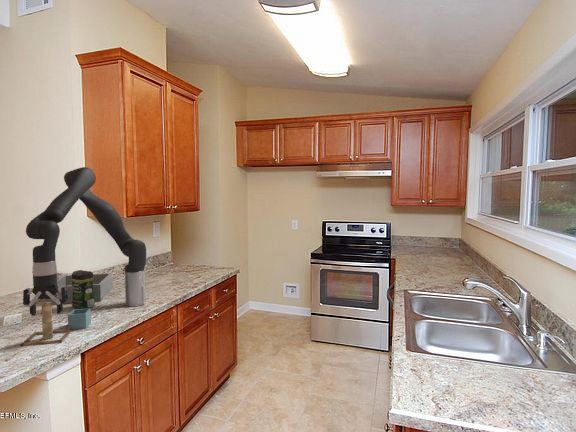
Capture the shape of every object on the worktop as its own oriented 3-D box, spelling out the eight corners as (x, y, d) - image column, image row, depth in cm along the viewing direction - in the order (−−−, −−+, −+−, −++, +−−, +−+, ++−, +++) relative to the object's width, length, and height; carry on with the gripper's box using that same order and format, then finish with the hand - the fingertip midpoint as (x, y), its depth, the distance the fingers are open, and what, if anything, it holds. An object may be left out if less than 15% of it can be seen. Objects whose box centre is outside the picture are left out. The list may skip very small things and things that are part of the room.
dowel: (54, 336, 134) (53, 301, 133) (50, 339, 131) (49, 304, 130) (44, 337, 133) (43, 302, 132) (41, 340, 130) (39, 304, 129)
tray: (71, 332, 139) (71, 329, 139) (61, 344, 128) (61, 340, 128) (35, 335, 136) (34, 332, 136) (21, 348, 125) (20, 343, 125)
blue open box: (91, 324, 148) (90, 308, 148) (86, 330, 142) (85, 313, 141) (74, 325, 147) (73, 309, 146) (68, 331, 140) (67, 315, 140)
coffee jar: (69, 308, 168) (67, 271, 167) (84, 303, 175) (83, 268, 174) (82, 311, 164) (81, 273, 163) (97, 306, 171) (96, 269, 170)
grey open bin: (112, 288, 204) (112, 273, 203) (100, 301, 179) (100, 284, 178) (64, 290, 197) (64, 275, 197) (45, 304, 173) (44, 287, 172)
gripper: (69, 269, 136) (71, 309, 137) (28, 271, 132) (30, 312, 133) (62, 274, 128) (63, 316, 130) (18, 276, 125) (20, 319, 126)
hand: (46, 314), depth 131 cm, fingers open, 8 cm apart
